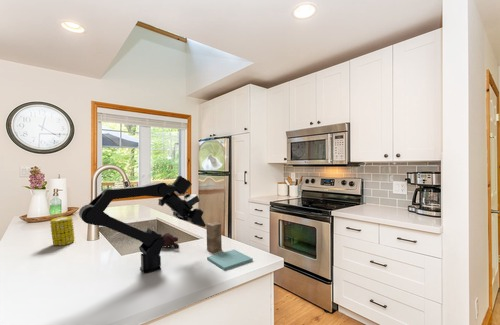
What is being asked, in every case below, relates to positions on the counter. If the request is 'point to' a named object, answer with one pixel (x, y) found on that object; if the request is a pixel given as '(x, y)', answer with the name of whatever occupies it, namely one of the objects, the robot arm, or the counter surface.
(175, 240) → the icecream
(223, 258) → the teal board
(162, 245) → the robot arm
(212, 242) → the walnut pillar
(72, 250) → the counter surface
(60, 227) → the food
